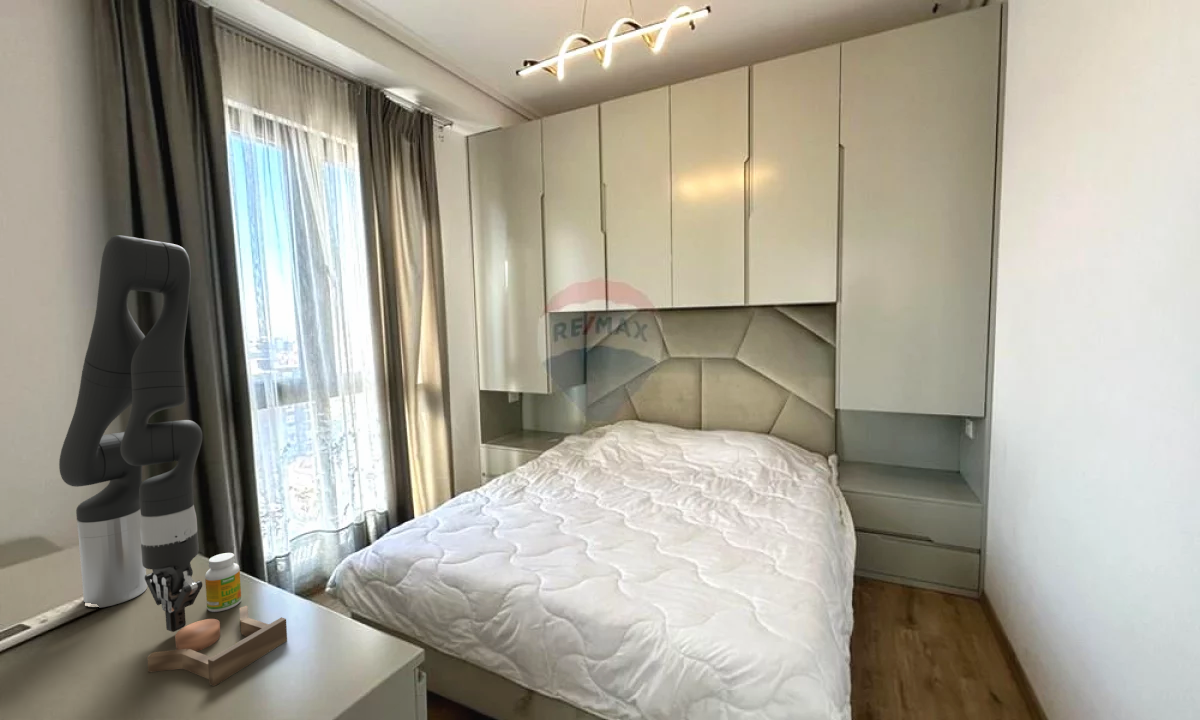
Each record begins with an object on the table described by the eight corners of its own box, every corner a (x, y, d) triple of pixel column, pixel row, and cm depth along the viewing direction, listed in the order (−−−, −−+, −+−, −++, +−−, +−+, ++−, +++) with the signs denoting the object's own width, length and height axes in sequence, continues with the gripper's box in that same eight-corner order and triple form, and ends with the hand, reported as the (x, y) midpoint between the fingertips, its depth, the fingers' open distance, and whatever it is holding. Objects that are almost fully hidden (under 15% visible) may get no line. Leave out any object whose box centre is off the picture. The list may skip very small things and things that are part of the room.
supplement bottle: (222, 614, 94) (219, 565, 93) (199, 611, 95) (196, 562, 94) (248, 598, 99) (245, 552, 98) (226, 596, 100) (223, 549, 99)
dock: (146, 671, 78) (144, 647, 78) (246, 617, 93) (244, 597, 92) (200, 694, 73) (198, 669, 73) (297, 634, 88) (296, 612, 87)
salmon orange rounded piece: (168, 649, 84) (167, 635, 84) (207, 629, 90) (206, 615, 89) (189, 657, 82) (189, 643, 82) (228, 636, 87) (227, 623, 87)
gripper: (121, 537, 86) (128, 632, 87) (167, 549, 81) (174, 650, 82) (172, 521, 92) (178, 609, 94) (217, 531, 88) (223, 624, 89)
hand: (176, 628), depth 88 cm, fingers closed
